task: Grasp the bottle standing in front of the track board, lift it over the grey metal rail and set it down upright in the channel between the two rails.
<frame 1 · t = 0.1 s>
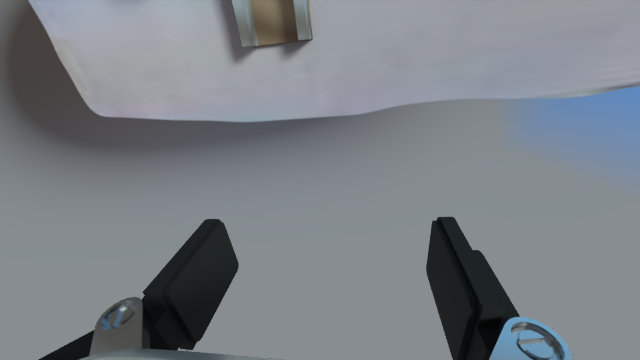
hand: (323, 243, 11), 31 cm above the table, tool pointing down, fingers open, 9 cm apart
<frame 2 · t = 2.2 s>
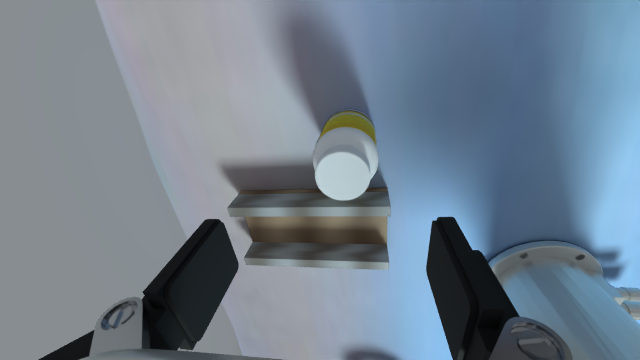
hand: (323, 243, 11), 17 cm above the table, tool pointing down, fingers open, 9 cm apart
supplement bottle: (348, 133, 26), on the table
track: (314, 219, 32), on the table
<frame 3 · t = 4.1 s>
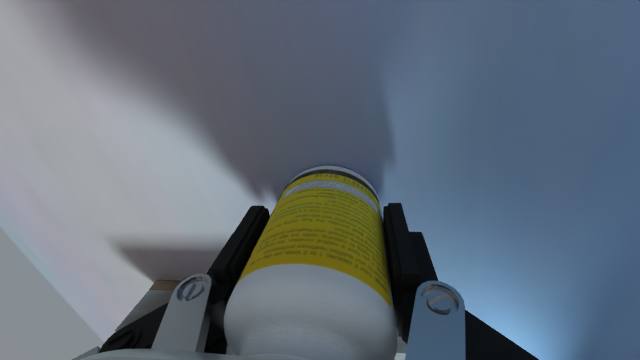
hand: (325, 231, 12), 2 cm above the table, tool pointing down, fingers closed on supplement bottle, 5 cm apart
supplement bottle: (330, 205, 14), on the table, touching gripper
track: (280, 323, 20), on the table
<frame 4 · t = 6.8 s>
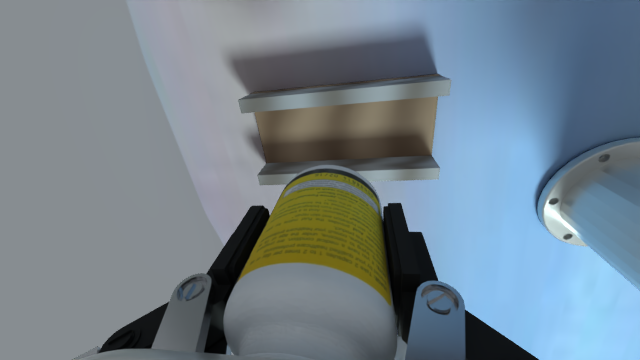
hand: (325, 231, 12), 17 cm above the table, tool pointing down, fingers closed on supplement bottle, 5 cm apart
supplement bottle: (330, 204, 14), point 14 cm above the table, touching gripper
track: (342, 128, 26), on the table
donut: (410, 331, 42), on the table
when the fingers open (4 cm above the table, at t = 9.4 s): supplement bottle stays where it is, resting on track.
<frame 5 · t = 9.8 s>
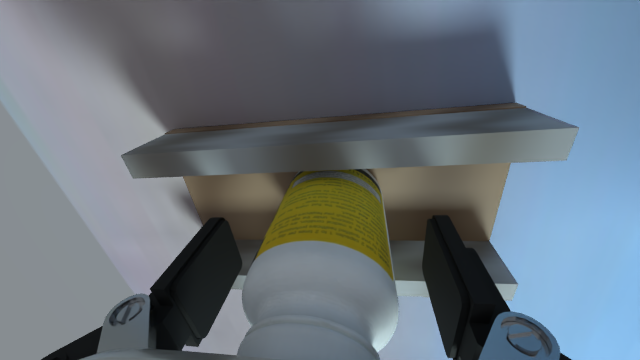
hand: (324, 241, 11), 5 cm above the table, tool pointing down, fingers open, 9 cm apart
supplement bottle: (334, 196, 15), point 1 cm above the table, touching track
track: (332, 190, 15), on the table
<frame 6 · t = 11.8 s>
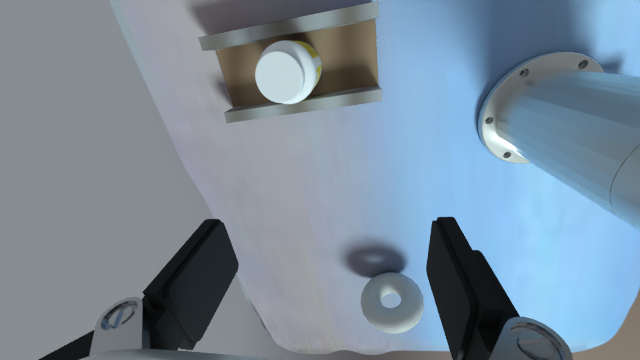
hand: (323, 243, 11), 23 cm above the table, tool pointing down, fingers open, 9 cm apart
supplement bottle: (299, 67, 29), point 1 cm above the table, touching track
track: (298, 67, 29), on the table
donut: (386, 274, 45), on the table
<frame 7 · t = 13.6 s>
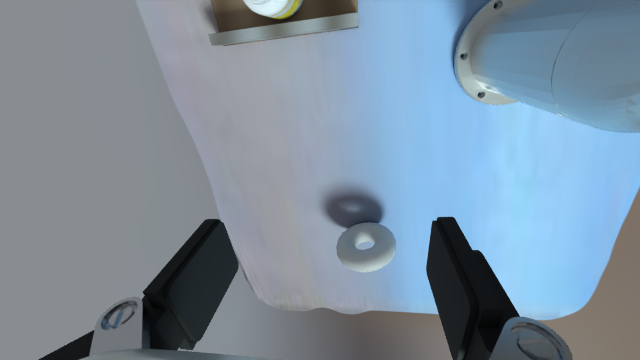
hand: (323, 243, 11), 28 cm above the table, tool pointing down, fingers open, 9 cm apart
donut: (364, 225, 46), on the table
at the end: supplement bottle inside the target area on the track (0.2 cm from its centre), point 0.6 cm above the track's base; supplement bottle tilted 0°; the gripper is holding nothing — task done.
